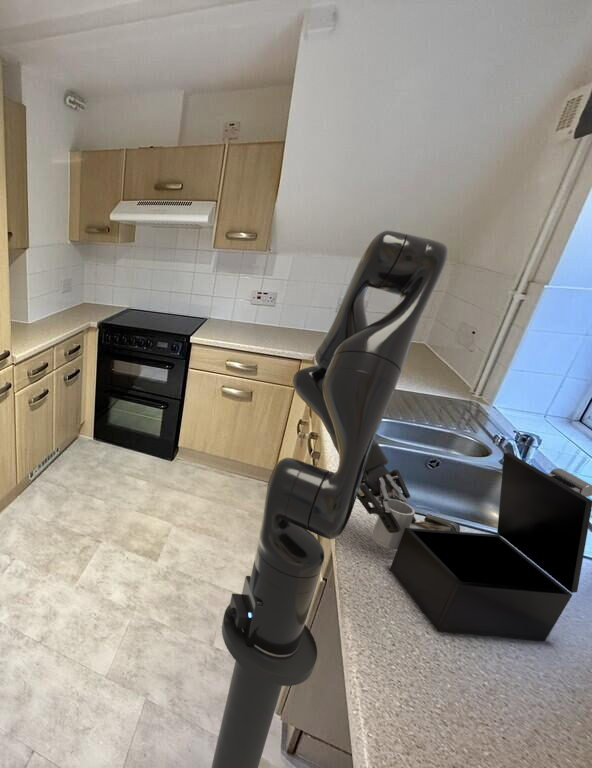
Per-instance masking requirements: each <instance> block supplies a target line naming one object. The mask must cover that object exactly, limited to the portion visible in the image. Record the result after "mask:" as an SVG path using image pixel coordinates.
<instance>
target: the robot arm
mask: <svg viewBox="0 0 592 768" xmlns="http://www.w3.org/2000/svg"><path fill="white" fill-rule="evenodd" d="M448 255H449V250H448V247H447V245H445V243H443V242H440V241H438V240H435V239H431V238H427V237H422V236H417V235H413V234H410V233H404V232H399V231H394V230H383V231H381V232H379V233H378V234H376V236H374V238H373V239H372V240H371V241H370V242H369V244H368V246H367V247H366V248H365V250H364V252H363V254H362V256H361V258H360V260H359V261H358V264H357V265H356V268H355V270H354V272H353V274H352V277H351V279H350V281H349V282H348V283H349V284H348V285H347V287H346V290H345V292H344V295H343V297H342V299H341V302H340V305H339V306H338V310H337V312H336V315H335V317H334V319H333V322H332V324H331V326H330V328H329V329H328V331H327V333H326V334H325V336H324V337H323V339H322V340H321V343H320V344H319V346H318V348H317V350H316V351H315V354H314V355H315V356H314V359H315V362H316V364H314V365H311V366H307V367H304V368H302V369H298V370H297V371H296V372H295V373H294V375H293V376H292V386H293V389H294V391H295V393H296V394H297V396H298V397H299V398H300V399H301V400H302V401H303V402H304V403H305V404H306V405H307V406H308V407H309V408H310V409H311V410H312V412H313V413H314V414H316V416H318V418H319V419H320V420H321V423H322V424H323V426H324V428H325V429H326V432H327V433H328V435H329V437H330V439H331V442H332V445H333V447H334V449H335V450H336V452H337V454H338V458H339V459H338V460H339V461H338V468H337V470H336V471H335V472H334V471H331V470H328V469H325V468H323V467H320V466H317V465H314V464H311V463H309V462H305V461H303V460H300V459H296V458H294V457H284V458H282V459H280V460H279V461H278V462H277V463H276V464H275V466H274V467H273V468H272V470H271V474H270V476H269V479H268V483H267V486H266V492H265V498H264V506H263V512H262V519H261V524H260V529H259V533H258V534H259V535H258V536H259V537H258V541H257V547H256V551H255V556H254V560H253V565H252V569H251V574H250V575H246V576H245V577H244V580H243V581H244V582H243V586H242V591H241V593H233V592H232V593H231V597H230V602H229V605H230V606H231V609H229V610H228V611H227V612H226V618H227V619H228V621H229V622H230V623H234V620H235V624H236V627H237V628H241V631H242V634H243V637H244V640H245V643H246V646H247V647H252V648H255V649H256V650H257V651H259V652H260V653H262V654H264V655H266V656H269V657H272V658H276V659H286V658H290V657H292V656H293V655H295V654H296V652H297V651H298V648H299V644H300V639H301V635H302V632H303V628H304V625H306V621H307V618H308V615H309V613H310V608H311V604H312V601H313V599H314V595H315V593H316V592H315V591H316V588H317V585H318V581H319V578H320V575H321V571H322V568H323V565H324V562H325V551H324V547H323V545H322V544H321V542H320V540H319V539H318V538H317V537H316V536H315V535H318V536H320V537H322V538H324V539H327V540H336V539H338V538H339V537H340V536H341V535H342V533H344V530H345V529H346V527H347V525H348V524H349V521H350V518H351V515H352V513H353V509H354V506H355V503H356V500H357V499H358V501H359V502H360V503H361V505H362V506H363V507H364V509H365V510H366V512H367V514H369V515H377V516H379V517H380V519H381V521H382V522H383V524H384V526H385V528H386V529H387V531H388V532H389V533H396V532H399V531H401V528H400V526H399V525H398V523H397V521H396V520H395V518H394V516H393V514H392V513H391V512H390V509H389V506H388V503H387V501H388V500H389V499H396V500H399V501H402V502H405V503H406V504H408V499H410V498H411V494H410V492H409V489H408V487H407V486H406V483H405V480H404V478H403V477H402V475H401V473H400V471H399V469H396V468H395V469H392V470H388V469H387V468H386V465H388V464H389V460H388V457H387V456H386V454H385V453H384V451H383V450H382V448H381V446H380V444H379V443H378V441H377V439H376V436H377V434H378V431H379V429H380V425H381V424H382V421H383V419H384V416H385V414H386V411H387V409H388V407H389V404H390V402H391V400H392V398H393V395H394V392H395V390H396V388H397V385H398V383H399V380H400V377H401V375H402V371H403V368H404V365H405V361H406V358H407V355H408V352H409V349H410V346H411V344H412V342H413V338H414V335H415V333H416V330H417V326H418V325H419V322H420V320H421V318H422V316H423V313H424V312H425V310H426V307H427V306H428V303H429V301H430V299H431V297H432V295H433V293H434V291H435V288H436V287H437V285H438V282H439V280H440V278H441V276H442V273H443V271H444V269H445V266H446V264H447V259H448ZM369 288H370V289H371V288H372V289H375V290H379V291H383V292H386V293H390V294H393V295H397V296H400V301H399V303H398V304H397V305H396V306H394V307H393V308H392V309H391V310H389V312H387V313H386V314H385V315H383V316H382V317H381V318H379V319H377V320H375V321H374V322H373V323H370V324H369V325H368V320H367V319H368V318H367V314H366V305H365V299H366V294H367V292H368V289H369ZM370 504H371V505H370ZM381 505H382V507H381ZM414 522H417V519H416V517H415V516H414V517H413V520H412V522H411V523H414ZM314 534H315V535H314ZM232 615H233V617H234V619H233V617H232Z"/></svg>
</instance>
